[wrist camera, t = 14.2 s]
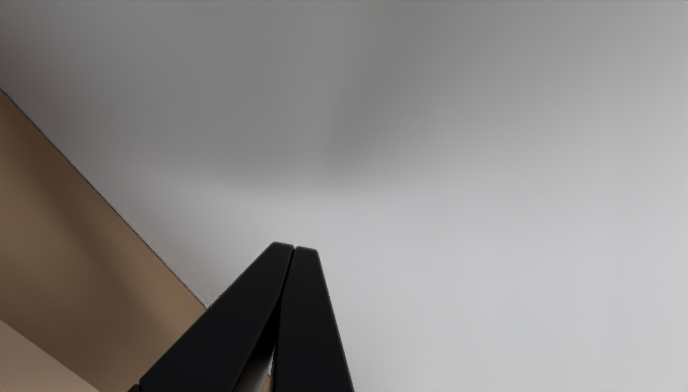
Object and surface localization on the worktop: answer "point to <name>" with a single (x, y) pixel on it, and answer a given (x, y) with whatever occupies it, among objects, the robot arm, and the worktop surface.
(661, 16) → the worktop surface
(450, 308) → the worktop surface
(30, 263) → the link
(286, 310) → the robot arm
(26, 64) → the worktop surface
